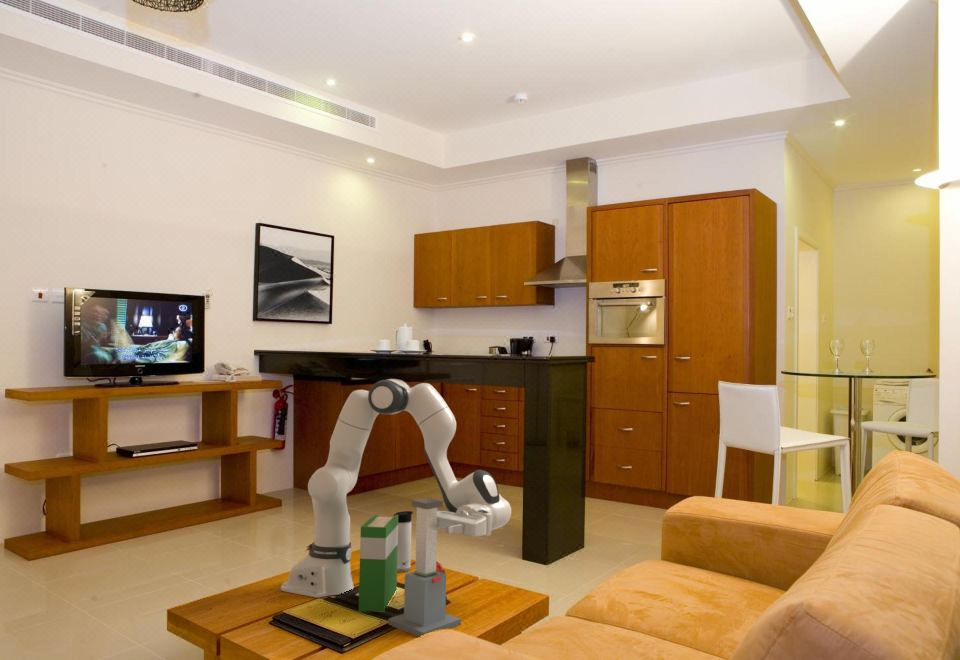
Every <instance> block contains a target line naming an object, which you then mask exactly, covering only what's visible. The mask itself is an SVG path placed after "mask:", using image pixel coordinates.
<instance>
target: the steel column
mask: <svg viewBox="0 0 960 660" xmlns="http://www.w3.org/2000/svg"><path fill="white" fill-rule="evenodd" d="M443 503H444V500H443V499H442V500H441V499H437V498H432V497H424V498H418V499H413V500H411V507H414V508H416V521H415V523H416V525H415V529H416V530H415V531H416V532H415V533H416V534H415V566H414V567H415V570H414V571H415V575H418V576H421V577H424V578H426V577H430V576H433V575H436V561H437V549H438V548H437V544H438V542H437V541H438V528H437V511H438V508H441V507H443Z"/></svg>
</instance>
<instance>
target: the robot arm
mask: <svg viewBox="0 0 960 660" xmlns="http://www.w3.org/2000/svg"><path fill="white" fill-rule="evenodd" d="M401 412H408V413H409V414H410V415H411V416H412V417H413V419H414V421H415V422H416V424H417V426H418V427H419V429H420V431H421V434H422V438H423V440H424V441H423V442H424V446H423V450H424V454H425V457H426V459H427V462H428V464H429V466H430V468H431V470H432V474H433V475H434V478H435V480H436V482H437V485H438V487H439V490H440V491H441V495H442V501H443V503H444V506H445V508H446V509H447V510H437V529H440V530H444V531H445V533H446V534H461V535H463V536H466V537H475V538H476V537H489V536H491V535H492V531H494V530H497V529H499V528H503V527H504V526H505V525H507V524H508V522H509V521H510V519H511V517H512V507H511V504H510V503H509V501H508V500H506V499H505V498H504V497H503V496H502V495H501V494H500V492H499V486H498V484H497V482H496V480H495V478H494V476H493V475H491V474H490V473H489V472H487V471H486V470H482V469H476V470H474V472H472V473H470V474H467V476H465V477H464V478H463V479H461V480H457V478H456V476H455V474H454V471H453V469H452V466H451V465H450V462H449V459H448V457H447V455H448V452H447V451H448V447H449V445H450V443H451V442H452V440H453V438H454V437H455V434H456V431H457V421H456V417H455V415H454V413H453V411H452V410H451V408H450V407H449V406H448V404H447V402H446V401H445V399H444V398H443V397H442V395H441V394H440V392H438V390H437V389H436V388H434V386H433V385H432V384H430V383H427V382H421V383H417V384H415V385H414V386H411V385H410V384H409V383H408V382H406V381H405V380H403V379H397V378H389V379H388V378H387V379H382V380H379V381H376V382H375V383H374V384H373V385H372V386H371V387H370V389H369V390H365V389H357V390H353V391H351V393H350V394H349V396H348V397H347V398H346V401H345V403H344V405H343V407H342V409H341V410H340V413H339V415H338V418H337V420H336V424H335V427H334V430H333V431H332V432H333V433H332V434H331V437H330V440H329V452H328V457H327V461H326V463H325V465H324V466H322V467H319V468H318V469H316V470H315V471H314V473H313V474H312V475H311V477H310V478H309V480H308V483H307V490H308V494H309V495H310V497H311V502H312V509H313V516H314V531H313V532H314V538H313V540H314V541H313V542H312V543H311V544H309V545H308V546H306V549H305V550H306V551H308V554H307V555H306V556H305V557H303V558H302V559H301V560H300V561H298V562H297V563H295V564H294V565H293V566H292V567H291V568H290V572H289V575H288V580H285V581H284V582H283V583H282V584H281V586H280V591H282V592H287V593H291V594H295V595H303V596H306V597H311V598H318V599H319V598H324V597H327V596H336V595H337V596H338V595H342V594H345V593H344V592H346V591H349V590H351V589H352V590H353V589H354V587H355V586H354V582H353V578H352V572H351V571H352V570H351V560H352V542H351V541H350V540H351V516H350V514H349V509H348V502H347V495H348V493H350V492H352V490H353V489H354V487H355V486H356V484H357V481H358V476H359V472H360V468H361V464H362V458H363V456H364V455H363V454H364V451H365V448H366V445H367V442H368V440H369V437H370V434H371V432H372V429H373V427H374V423H375V420H376V418H377V417H378V416H379V414H380V415H385V416H386V415H397V414H398V413H401ZM352 590H351V591H352ZM349 592H350V591H349ZM341 593H342V594H341ZM346 593H347V592H346Z"/></svg>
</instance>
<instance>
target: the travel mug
mask: <svg viewBox="0 0 960 660" xmlns="http://www.w3.org/2000/svg"><path fill="white" fill-rule="evenodd" d="M413 514H414V512H413V511H412V510H411V511H409V510H405V511H399V512H396V513H394V514H393V517H394V516H395V515H398V550H397V573H408V572H410V570H411V564H412V563H411V562H412V561H411V558H412V555H411V554H412V515H413Z"/></svg>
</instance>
